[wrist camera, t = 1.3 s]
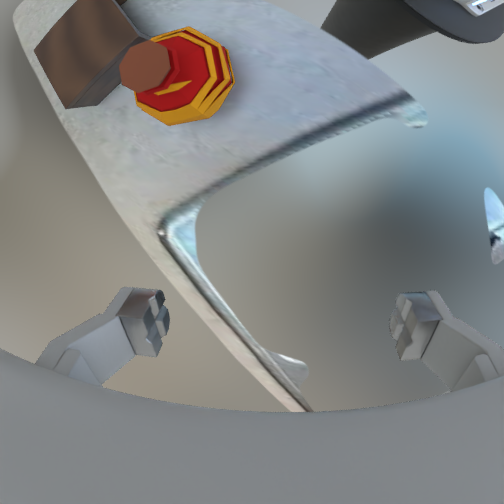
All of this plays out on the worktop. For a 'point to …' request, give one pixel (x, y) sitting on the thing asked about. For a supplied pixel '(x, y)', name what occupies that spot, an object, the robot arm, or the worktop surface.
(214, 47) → the potion bottle
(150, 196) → the worktop surface
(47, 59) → the shelf
